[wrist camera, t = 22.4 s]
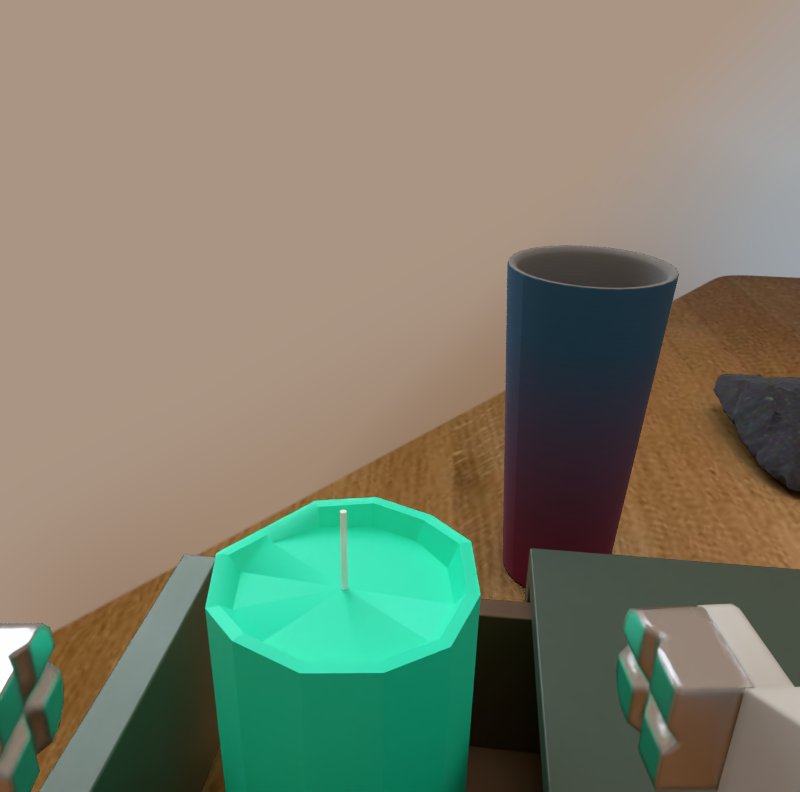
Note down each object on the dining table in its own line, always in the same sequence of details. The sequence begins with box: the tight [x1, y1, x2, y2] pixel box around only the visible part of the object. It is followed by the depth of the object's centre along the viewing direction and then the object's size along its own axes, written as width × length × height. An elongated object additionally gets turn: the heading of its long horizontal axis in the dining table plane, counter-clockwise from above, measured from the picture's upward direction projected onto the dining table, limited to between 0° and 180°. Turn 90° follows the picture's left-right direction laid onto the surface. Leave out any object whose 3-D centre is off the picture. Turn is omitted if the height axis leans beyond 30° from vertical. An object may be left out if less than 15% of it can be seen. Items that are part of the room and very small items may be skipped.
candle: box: [205, 497, 481, 792], centre depth 18 cm, size 6×6×12 cm
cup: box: [503, 245, 679, 587], centre depth 34 cm, size 7×7×15 cm
